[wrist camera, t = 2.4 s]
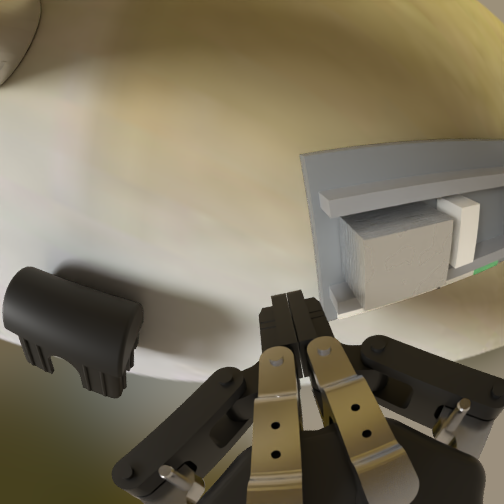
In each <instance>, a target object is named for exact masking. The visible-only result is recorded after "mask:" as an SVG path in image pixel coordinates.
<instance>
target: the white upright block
mask: <svg viewBox="0 0 504 504" xmlns="http://www.w3.org/2000/svg"><path fill="white" fill-rule="evenodd" d="M437 210H438V211H440V212H442V213H443V214H445V215H447V216H449V217H451V218H452V219H454V221H453V233H452V243H451V252H450V260H449V264H450V265H451V266H453V267H454V268H458V267H461V266H464V265H466V264H469V263H472V262H473V259H474V253H475V246H476V239H477V231H478V222H479V211H480V204H479V203H477V202H475V201H473V200H471V199H469V198H467V197H464V196H462V195H460V194H455V195H450V196H444V197H439V198H437Z"/></svg>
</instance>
